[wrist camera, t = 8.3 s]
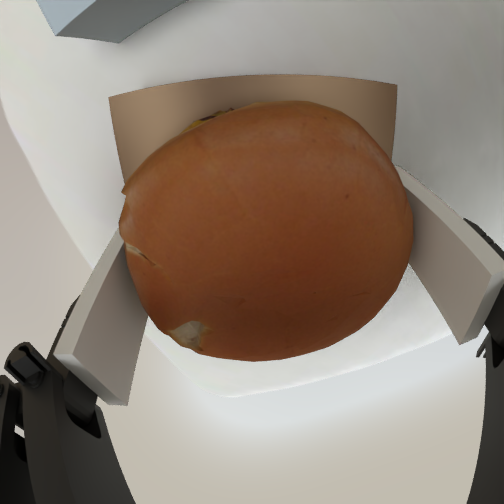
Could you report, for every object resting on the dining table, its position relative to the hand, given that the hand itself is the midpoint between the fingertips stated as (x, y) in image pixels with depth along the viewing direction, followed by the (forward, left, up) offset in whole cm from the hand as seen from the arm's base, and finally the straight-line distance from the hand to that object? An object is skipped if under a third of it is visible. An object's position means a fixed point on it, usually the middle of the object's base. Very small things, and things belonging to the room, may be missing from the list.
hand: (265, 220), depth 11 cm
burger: (0, 0, 0) cm, 0 cm away
